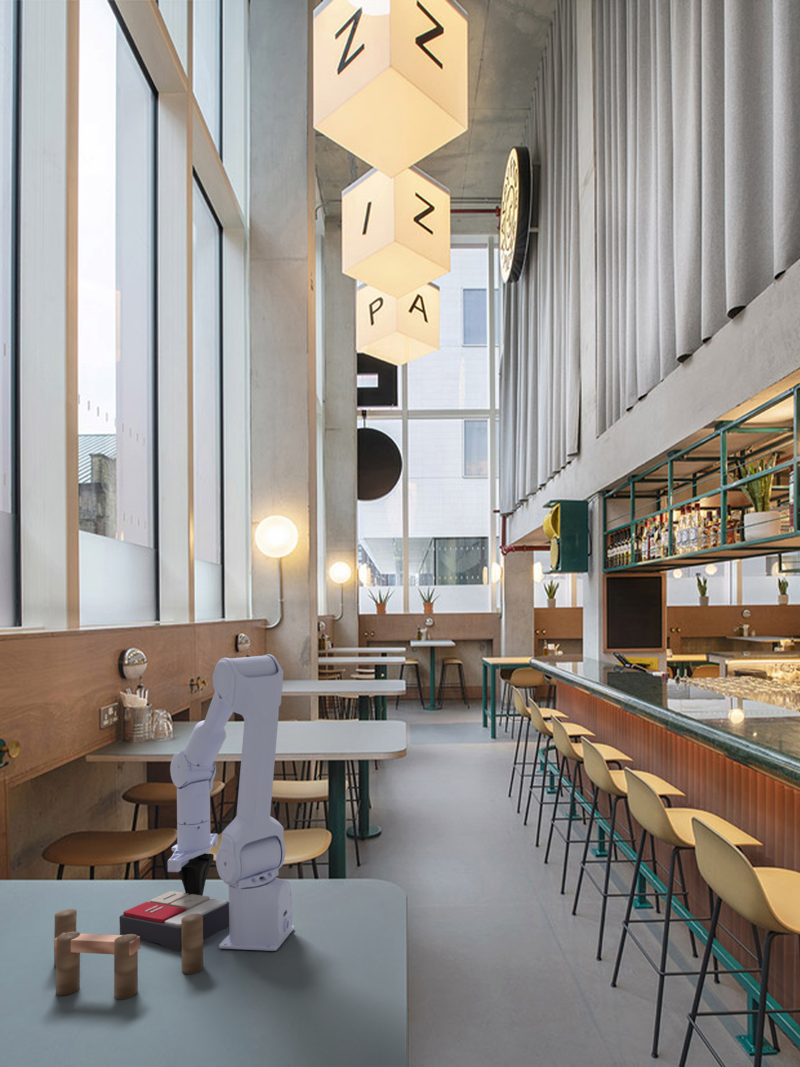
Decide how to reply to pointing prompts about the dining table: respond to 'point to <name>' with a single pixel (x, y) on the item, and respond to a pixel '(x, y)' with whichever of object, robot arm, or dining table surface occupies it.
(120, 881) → the dining table surface
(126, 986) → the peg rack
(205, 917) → the calculator
